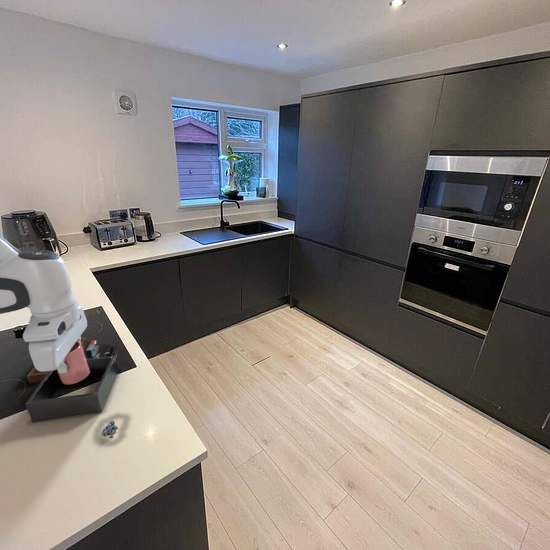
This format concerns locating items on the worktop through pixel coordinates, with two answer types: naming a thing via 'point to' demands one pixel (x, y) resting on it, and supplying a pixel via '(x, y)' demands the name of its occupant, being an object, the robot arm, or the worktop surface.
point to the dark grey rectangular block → (92, 349)
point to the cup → (75, 365)
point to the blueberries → (110, 429)
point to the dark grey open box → (69, 406)
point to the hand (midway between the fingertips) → (70, 361)
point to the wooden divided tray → (37, 376)
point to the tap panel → (101, 351)
